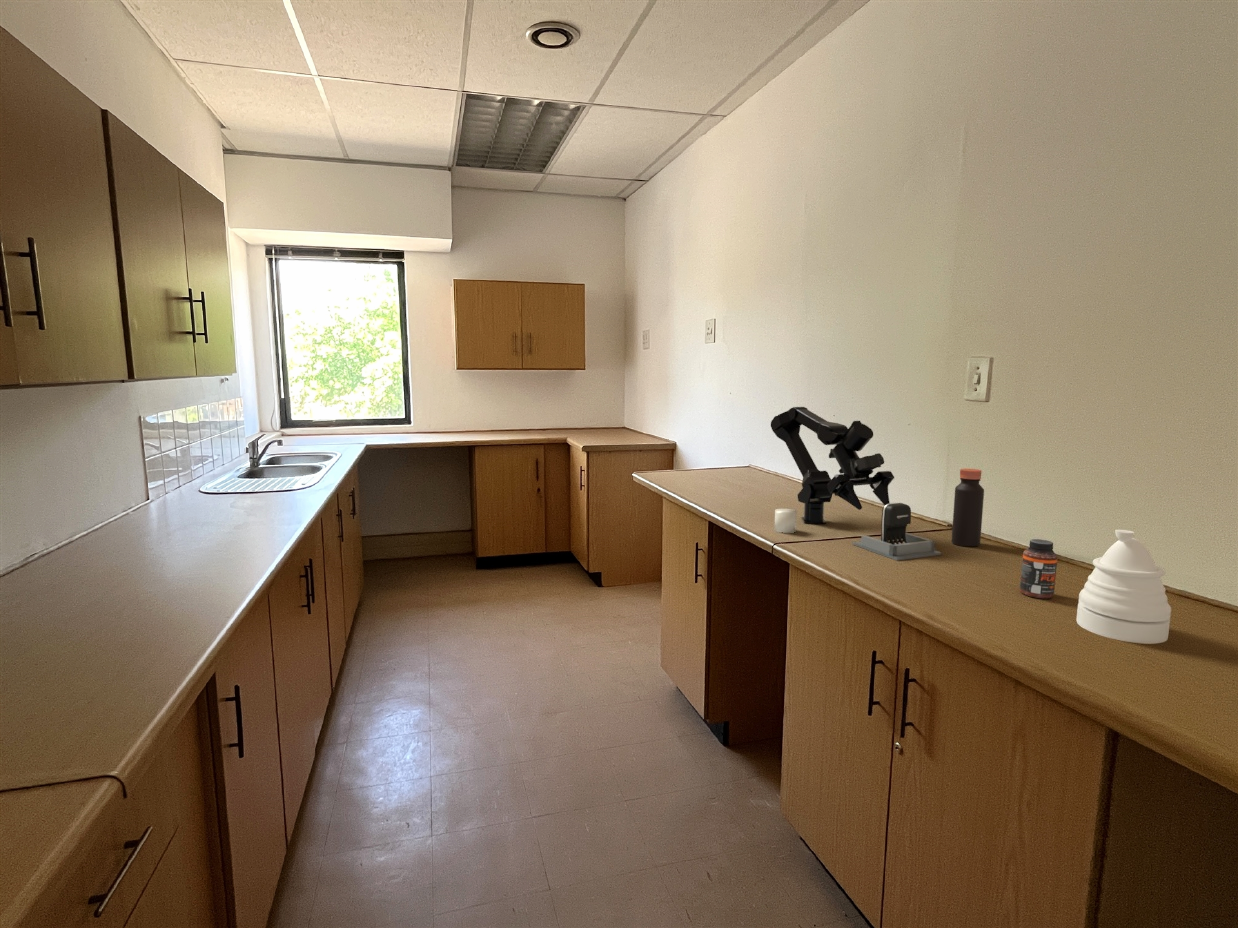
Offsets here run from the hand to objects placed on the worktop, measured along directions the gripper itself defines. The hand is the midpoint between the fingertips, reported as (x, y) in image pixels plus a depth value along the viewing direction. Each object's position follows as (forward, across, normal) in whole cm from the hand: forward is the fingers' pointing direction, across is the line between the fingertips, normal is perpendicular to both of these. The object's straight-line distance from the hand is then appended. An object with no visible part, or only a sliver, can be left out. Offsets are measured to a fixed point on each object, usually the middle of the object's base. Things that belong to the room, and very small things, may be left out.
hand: (874, 507), depth 171 cm
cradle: (+12, 0, +1) cm, 13 cm away
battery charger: (+12, 0, +1) cm, 12 cm away
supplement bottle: (+38, +2, -26) cm, 46 cm away
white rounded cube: (-6, -15, +20) cm, 26 cm away
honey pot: (+51, -1, -38) cm, 64 cm away
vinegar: (+14, +22, -1) cm, 26 cm away
